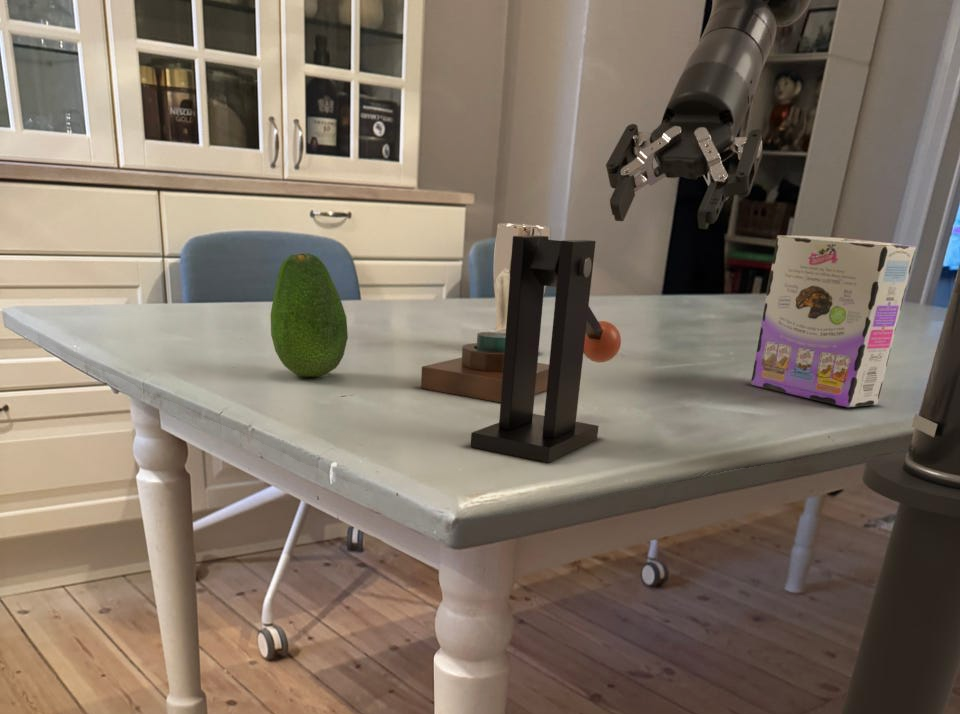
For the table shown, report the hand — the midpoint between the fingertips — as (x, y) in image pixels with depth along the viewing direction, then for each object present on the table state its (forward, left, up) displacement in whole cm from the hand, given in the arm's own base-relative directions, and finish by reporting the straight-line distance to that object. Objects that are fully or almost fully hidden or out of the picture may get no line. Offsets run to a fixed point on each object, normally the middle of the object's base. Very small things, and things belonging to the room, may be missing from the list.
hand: (658, 218), depth 89 cm
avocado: (+30, +15, -17) cm, 38 cm away
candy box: (-14, -19, -17) cm, 30 cm away
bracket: (0, +23, -17) cm, 29 cm away
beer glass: (+23, -18, -17) cm, 34 cm away
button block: (+14, +5, -17) cm, 23 cm away
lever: (0, +18, -8) cm, 20 cm away
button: (+14, +5, -14) cm, 20 cm away
